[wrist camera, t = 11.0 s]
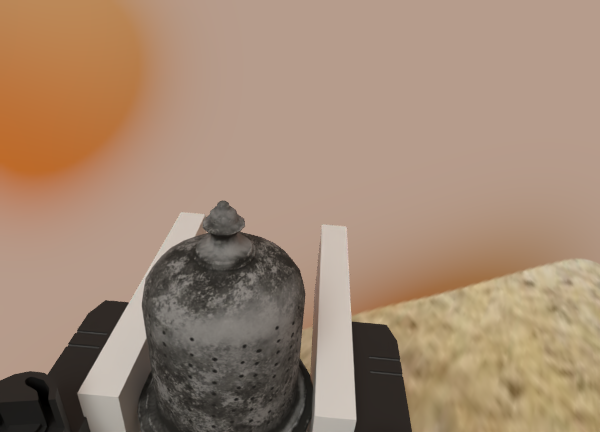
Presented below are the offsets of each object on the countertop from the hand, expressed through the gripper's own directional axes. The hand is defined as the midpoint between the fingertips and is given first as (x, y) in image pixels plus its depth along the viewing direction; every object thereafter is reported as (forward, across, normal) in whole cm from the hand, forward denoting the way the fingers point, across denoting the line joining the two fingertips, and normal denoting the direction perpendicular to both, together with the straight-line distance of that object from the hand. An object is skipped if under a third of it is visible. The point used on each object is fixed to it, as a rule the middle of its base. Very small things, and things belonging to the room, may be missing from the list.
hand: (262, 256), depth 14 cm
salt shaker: (-5, 0, -7) cm, 9 cm away
